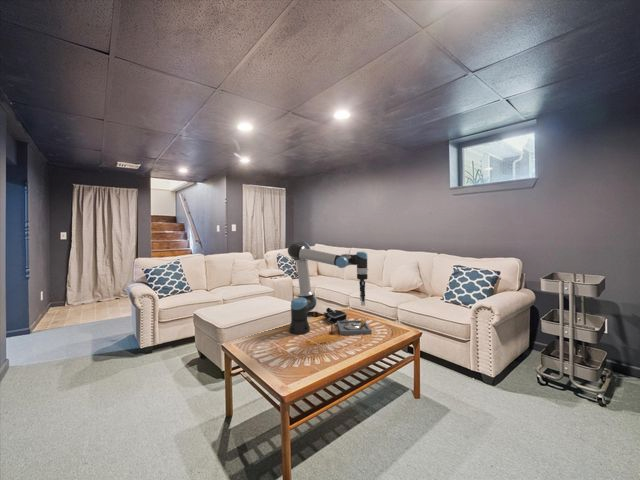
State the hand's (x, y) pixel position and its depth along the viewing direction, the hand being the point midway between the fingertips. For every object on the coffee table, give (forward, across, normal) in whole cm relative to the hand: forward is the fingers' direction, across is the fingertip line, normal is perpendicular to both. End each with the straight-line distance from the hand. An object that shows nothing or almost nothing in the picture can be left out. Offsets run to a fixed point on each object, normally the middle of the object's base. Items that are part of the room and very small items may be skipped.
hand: (362, 302), depth 209 cm
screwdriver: (+21, +3, +21) cm, 30 cm away
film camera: (+22, +26, +22) cm, 41 cm away
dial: (+20, +6, +6) cm, 22 cm away
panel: (+21, +6, +6) cm, 23 cm away
